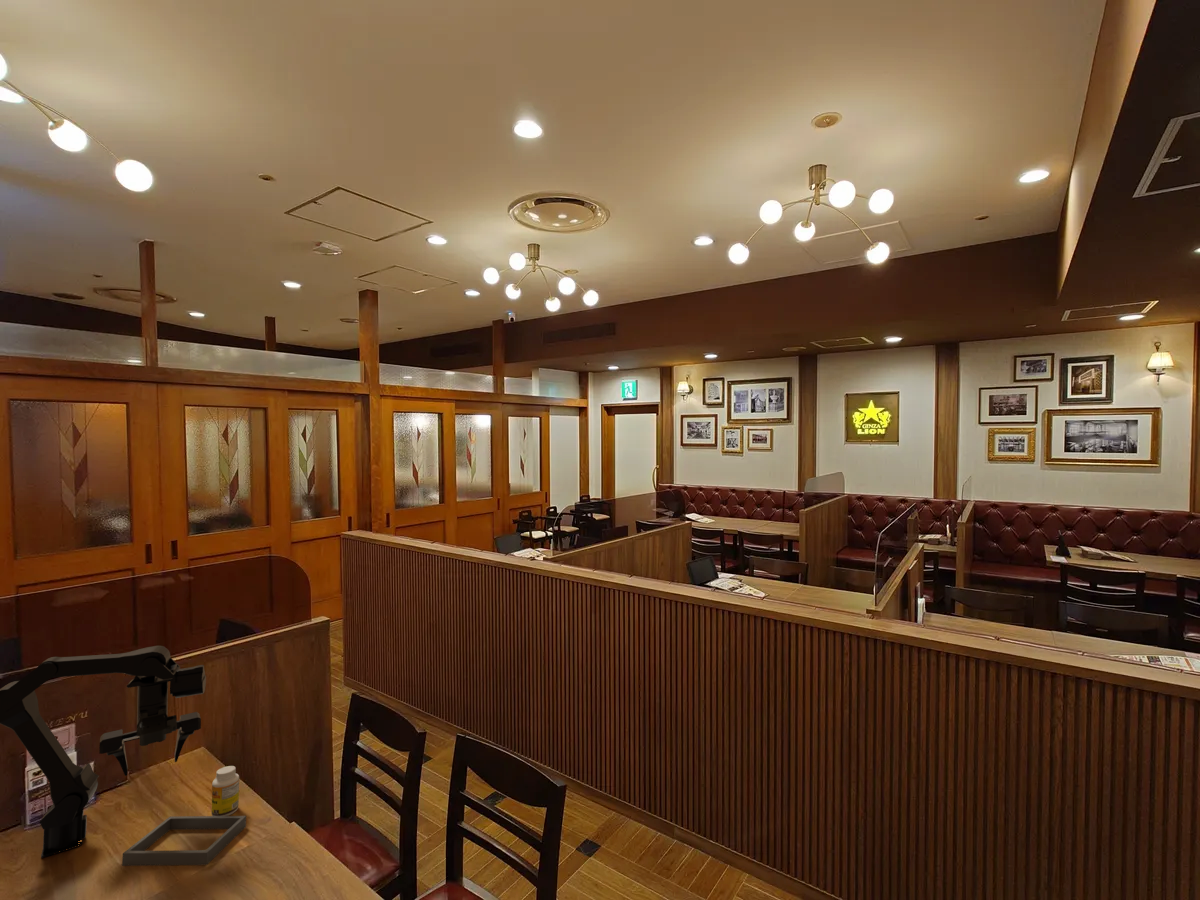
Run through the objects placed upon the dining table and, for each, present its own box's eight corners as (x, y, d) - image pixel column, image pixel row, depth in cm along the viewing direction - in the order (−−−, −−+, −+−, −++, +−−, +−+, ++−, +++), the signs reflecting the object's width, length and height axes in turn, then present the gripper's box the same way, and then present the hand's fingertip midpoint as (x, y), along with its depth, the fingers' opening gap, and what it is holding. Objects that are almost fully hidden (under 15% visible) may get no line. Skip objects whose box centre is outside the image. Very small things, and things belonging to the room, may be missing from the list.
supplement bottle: (209, 811, 137) (211, 769, 138) (236, 803, 141) (237, 761, 141) (212, 822, 133) (213, 778, 133) (240, 813, 136) (241, 770, 137)
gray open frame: (122, 865, 118) (122, 853, 118) (169, 827, 131) (170, 816, 131) (206, 864, 118) (207, 852, 118) (245, 826, 131) (246, 815, 131)
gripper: (99, 724, 121) (97, 797, 121) (203, 700, 133) (202, 767, 133) (101, 708, 130) (99, 777, 129) (199, 688, 142) (198, 750, 141)
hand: (151, 768), depth 133 cm, fingers open, 9 cm apart
